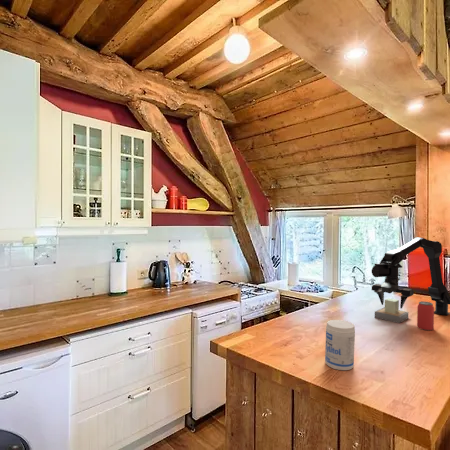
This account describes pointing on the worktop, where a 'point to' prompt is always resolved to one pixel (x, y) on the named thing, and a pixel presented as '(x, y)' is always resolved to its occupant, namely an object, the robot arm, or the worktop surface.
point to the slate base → (391, 315)
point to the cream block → (391, 305)
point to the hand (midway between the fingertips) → (391, 306)
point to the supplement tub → (340, 344)
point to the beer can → (425, 316)
